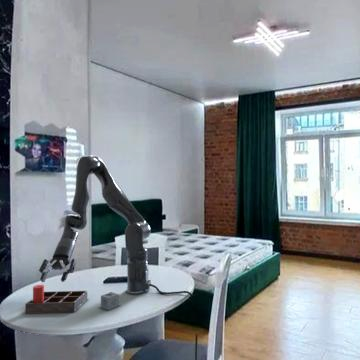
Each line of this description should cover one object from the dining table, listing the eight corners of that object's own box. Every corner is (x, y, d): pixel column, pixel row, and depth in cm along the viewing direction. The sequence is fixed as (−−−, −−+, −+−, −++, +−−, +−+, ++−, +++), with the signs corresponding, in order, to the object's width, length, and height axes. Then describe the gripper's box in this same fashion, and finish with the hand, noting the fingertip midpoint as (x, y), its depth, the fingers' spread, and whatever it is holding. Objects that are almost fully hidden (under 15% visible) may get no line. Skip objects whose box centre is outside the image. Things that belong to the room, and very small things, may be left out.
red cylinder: (45, 305, 129) (45, 284, 129) (40, 309, 125) (40, 287, 125) (36, 306, 129) (36, 284, 129) (30, 310, 125) (30, 288, 125)
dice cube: (111, 303, 134) (111, 291, 134) (118, 305, 131) (118, 294, 131) (100, 307, 130) (100, 295, 130) (108, 310, 127) (108, 298, 127)
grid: (87, 299, 138) (87, 290, 138) (74, 312, 125) (74, 302, 125) (43, 300, 136) (43, 291, 136) (25, 313, 124) (25, 303, 124)
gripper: (46, 245, 146) (32, 277, 134) (77, 245, 147) (66, 276, 135) (52, 253, 151) (39, 285, 140) (82, 253, 152) (71, 284, 141)
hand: (52, 281), depth 138 cm, fingers open, 8 cm apart
